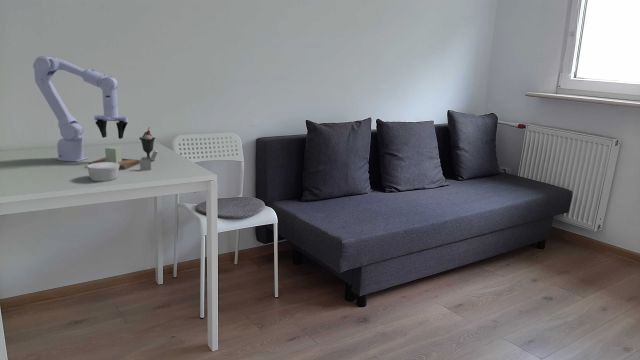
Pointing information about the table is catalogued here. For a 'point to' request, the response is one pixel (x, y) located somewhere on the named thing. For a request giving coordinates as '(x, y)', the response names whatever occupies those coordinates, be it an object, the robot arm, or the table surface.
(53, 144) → the table surface
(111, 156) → the block
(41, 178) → the table surface
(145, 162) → the lighter
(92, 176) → the ramekin
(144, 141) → the sundae
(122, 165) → the board
